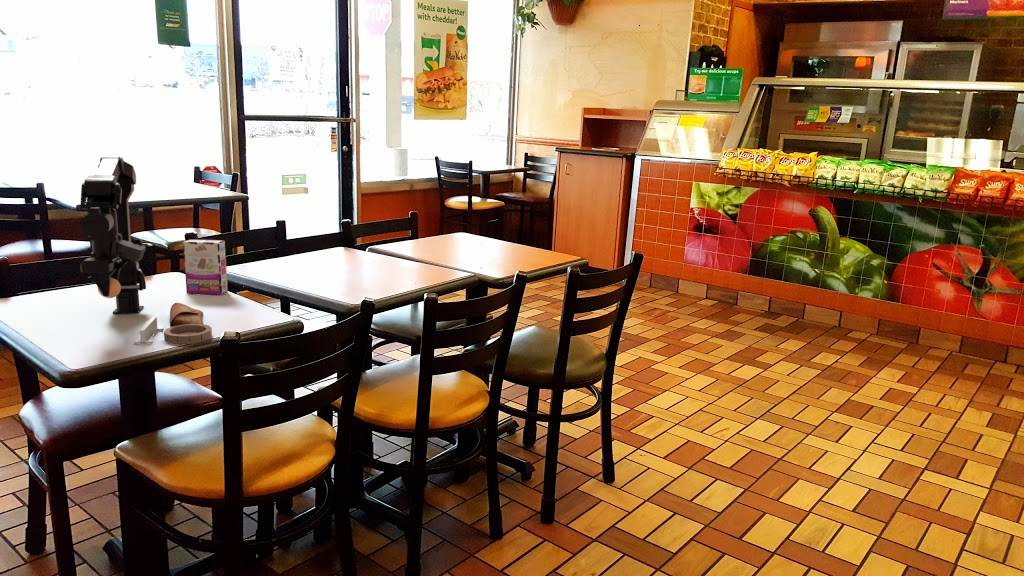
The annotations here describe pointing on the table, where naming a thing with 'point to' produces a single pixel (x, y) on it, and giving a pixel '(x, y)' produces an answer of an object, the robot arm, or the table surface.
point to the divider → (148, 331)
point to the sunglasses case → (184, 315)
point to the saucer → (187, 334)
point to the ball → (113, 288)
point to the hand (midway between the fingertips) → (109, 293)
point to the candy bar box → (205, 267)
